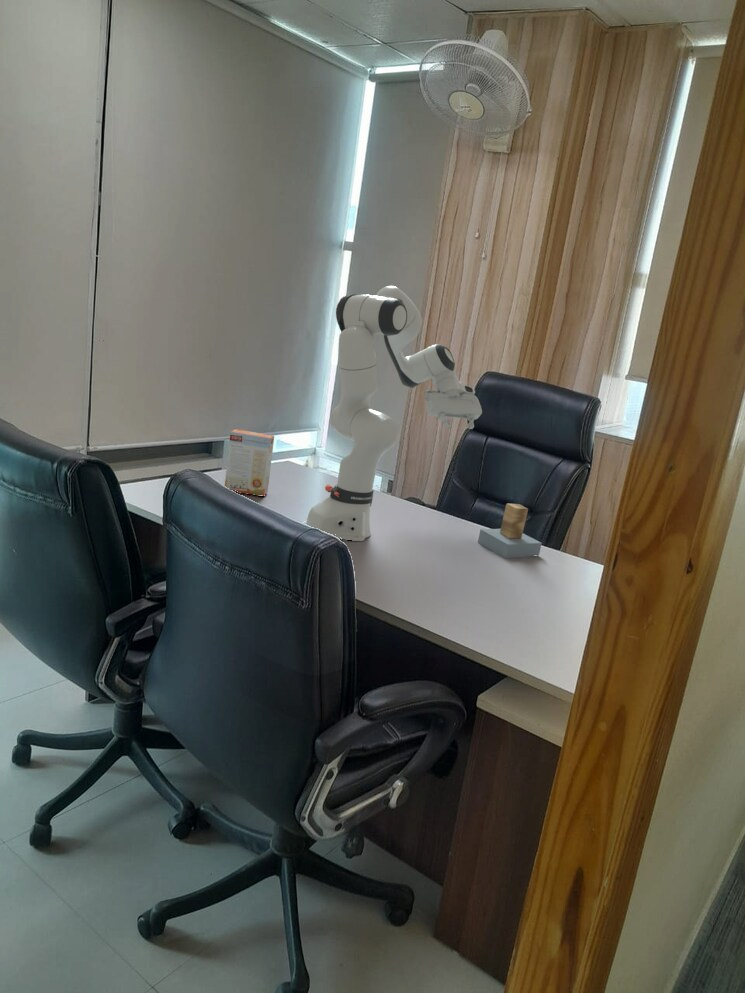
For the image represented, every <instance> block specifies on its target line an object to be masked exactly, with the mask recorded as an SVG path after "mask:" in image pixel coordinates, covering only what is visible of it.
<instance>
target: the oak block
mask: <svg viewBox="0 0 745 993" xmlns="http://www.w3.org/2000/svg"><path fill="white" fill-rule="evenodd" d="M528 512H529V508H527V507H525V506H524V505H522V504H520V503H506V504H505V508H504V512H503V513H504V514H503V517H502V522H501V526H500V529H501V530H500V533H501V534H502V535H504V536H506V537H507V538H517V539H521V538H522V533H523V534H524V528H525V525H526V520H527V517H528V516H527V515H528Z"/></svg>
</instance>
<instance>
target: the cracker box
mask: <svg viewBox="0 0 745 993" xmlns="http://www.w3.org/2000/svg"><path fill="white" fill-rule="evenodd" d="M274 442H275V435H273V434H266V433H261V432H255V431H249V430H242V429H236V428H235V429H233V430H231V431H230V434H229V443H228V449H227V450H228V451H227V452H228V453H227V461H226V470H225V480H224V487H225V486H226V487H227V488H229V489H230V490H233V491H235V490H236V491H235V492H237V491H238V492H237V493H236V494H241V493H248V494H255V495H263V496H264V495H265V494H266V493H267V492H269V486H270V485H269V484H270V474H271V469H272V468H271V466H272V461H273V460H272V458H273V450H274ZM235 492H234V493H235ZM239 492H241V493H239ZM267 494H268V493H267ZM267 494H266V495H267ZM266 495H265V496H266Z"/></svg>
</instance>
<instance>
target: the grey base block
mask: <svg viewBox="0 0 745 993" xmlns="http://www.w3.org/2000/svg"><path fill="white" fill-rule="evenodd" d="M500 530H501V528H480V530H479V535H478V539H477V543H478V544H479V545H481V546H483V547H484V548H487V549H488V550H490V551H491V552H493V553H494V554H495V553H496V554H497V555H499V556H501V557H502V558H504V559H511V558H512V559H514V558H513V557H518V558H525V557H524V556H534V555H539V556H540V552H541V548H542V542H541V541H538V540H537V539H535V538H533V537H531V536H530V535H527V534H526V533H524V532H523V533H522V538H521V539H517V538H507V537H506V536H504V535H502V534H501V533H500Z"/></svg>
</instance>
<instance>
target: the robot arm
mask: <svg viewBox="0 0 745 993" xmlns="http://www.w3.org/2000/svg"><path fill="white" fill-rule="evenodd" d="M338 301H339V302H338V303H337V305H336V309H335V318H336V322H337V326H338V328H339V331H340V334H339V336H338V349H337V350H338V351H337V353H338V355H337V356H338V368H339V376H340V377H339V378H340V379H339V380H340V398H339V402H338V405H336V406H335V408H334V409H333V410H332V412H331V414H330V419H329V420H330V425H331V428H332V429H333V431H334V432H336V433H337V434H338V435H339V436H341V437H342V438H344V439H346V440H348V441H351V442H354V444H353V448H352V450H351V452H350V454H349V455H346V456H345V457H343V458H342V459H341V460H340V463H339V469H338V476H337V482H336V484H335V485H334V486H331V485H330V484H326V485H325V487H324V490H325V492H327V493H330V495H329V496H327V497H326V498H324V500H321V502H318V503H317V504H315V505H313V506H312V507H311V508H310V509H309V512H308V515H307V518H306V520H303V521H304V522H306V523H305V524H307V525H309V526H311V527H314V528H318V529H320V530H322V531H325V532H327V533H330V534H333V535H334V536H336V537H338V538H339V539H341V538H342V539H347V540H352V541H351V542H364V541H365V539H366V538H369V537H370V536H371V534H372V533H371V527H370V524H371V523H370V521H371V520H370V518H371V517H370V512H371V506H372V503H373V499H374V498H373V497H374V482H375V478H376V477H375V476H376V472H377V470H378V465H379V462H380V461H381V459H382V457H383V456H384V454H385V453H386V452H388V451H389V450H390V449H392V448H393V447H394V446H395V445H396V444H397V443H398V440H399V438H400V426H399V424H398V422H397V421H396V420H394V419H393V418H392V417H391V416H389V415H388V414H386V413H384V412H380V411H377V410H374V409H373V408H372V407H371V398H372V396H374V395H375V394H376V393H377V392H378V391H379V388H380V383H379V382H380V381H379V373H378V372H379V369H378V360H377V352H376V347H375V344H374V343H375V342H374V338H375V336H383V340H384V344H385V347H386V350H387V353H388V355H389V357H390V359H391V361H392V363H393V365H394V367H395V370H396V374H397V377H398V380H399V381H400V382H401V384H402V385H403V386H405V387H407V388H413V389H414V388H416V387H417V386H419V385H420V384H422V383H424V382H426V381H428V380H432V382H433V389H434V390H431V389H427V390H426V391H424V393H423V396H424V399H425V407H426V412H427V414H428V415H429V416H430V417H437V418H438V419H439V421H440V422H442V424H443V427H444V428H449V427H451V424H452V423H451V421H450V420H449V419H447V418H452V419H453V418H454V419H455V418H456V419H465V420H466V419H467V421H468V423H466V428H467V429H469V430H473V429H474V428H475V423H474V421H475V420H478V419H479V418H480V416H481V415H482V414H483V410H482V405H481V404H480V400H479V398H478V397H477V396H476V395H475V394H476V390H475V388H474V387H471V386H469V385H466V384H464V383H463V382H461V381H460V379H459V378H458V375H457V368H456V363H455V360H454V357H453V355H452V352H451V351H450V349H449V348H448V347H446V346H444V345H442V344H439V343H437V344H432V345H430V346H428V347H426V348H425V349H424V348H423V350H421V351H418V352H416V353H414V354H412V355H408V356H405V354H404V352H403V349H404V348H405V347H406V346H407V345H408V344H409V343H411V342H412V341H413V340H414V339H416V337H417V336H418V335H419V333H420V332H421V329H422V325H423V319H422V315H421V313H420V311H419V308H418V307H417V305H416V304H415V303H414V301H413V300H412V299H411V298H410V297H409V296H408V295H407V294H406V293H405V292H404V291H402V289H400V288H399V287H397V286H394V285H387V286H384V287H382V288H381V289H379V291H377V293H376V294H375V295H374V294H354V293H353V294H349V295H344V296H342V297H341V298H340V300H338ZM304 522H302V523H304ZM335 534H336V535H335ZM340 537H341V538H340ZM342 539H341V540H340V541H343V540H342ZM347 540H346V541H347Z"/></svg>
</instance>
